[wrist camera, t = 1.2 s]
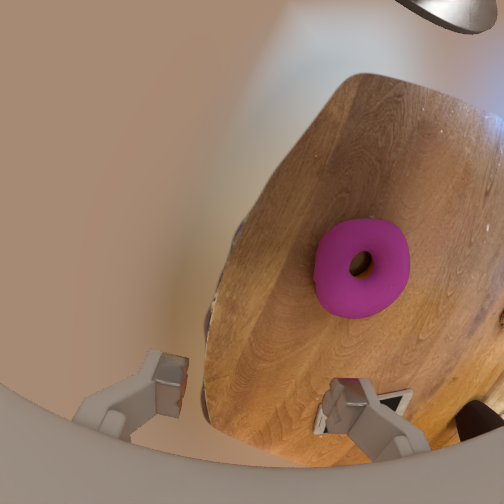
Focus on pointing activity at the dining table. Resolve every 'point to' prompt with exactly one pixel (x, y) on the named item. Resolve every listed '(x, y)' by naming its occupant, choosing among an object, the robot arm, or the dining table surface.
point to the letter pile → (502, 320)
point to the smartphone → (391, 400)
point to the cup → (476, 420)
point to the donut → (371, 280)
